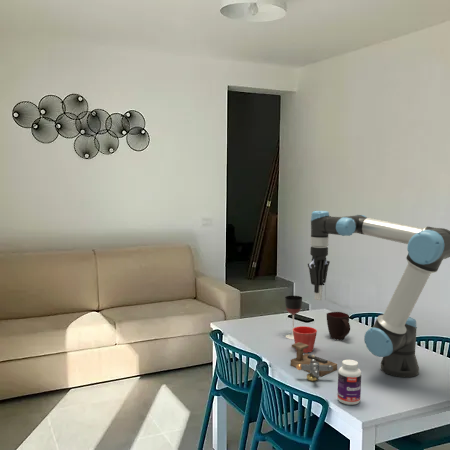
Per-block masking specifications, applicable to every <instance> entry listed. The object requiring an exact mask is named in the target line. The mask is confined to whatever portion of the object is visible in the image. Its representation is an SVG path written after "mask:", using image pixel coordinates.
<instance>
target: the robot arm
mask: <svg viewBox="0 0 450 450" xmlns="http://www.w3.org/2000/svg"><path fill="white" fill-rule="evenodd" d="M353 234H360V235H365V236H369V237H374V238H378V239H382V240H387V241H392V242H395V243H400V244H405V245H407V247H406V249H407V255H406V257H405V259H406V261H407V265H406V268H405V269H404V271H403V273H402V275H401V277H400V279H399V281H398V284H397V285H396V288H395V290H394V292H393V294H392V295H391V298H390V301H389V303H388V304H387V306H386V309H385V311H384V313H383V314H380V315H378V316H377V318H376V320H375V322H374V324H373V326H372V327H370V328H368V329H367V330H366V331H365V333H364V338H363V339H364V340H363V341H364V344H365V347H366V348H367V350H368V351H369V352H370V353H371V354H372V355H373V356H376V357H379V358H382V359H381V360H380V361H381V362H380V370H381V371H382V372H383V373H385V374H387V375H388V376H389V375H390V376H392V377H398V378H414V377H416V376H418V375H419V374H420V365H419V363H418V362H419V361H418V359H417V356H416V343H417V328H418V327H417V321H416V319H415V318H414V317H411V316H410V315H411V314H412V311H413V310H414V308H415V305H416V303H417V301H418V300H419V298H420V296H421V294H422V292H423V289H424V287H425V285H426V284H427V282H428V279H430V276H431V274H434V273H437V272H438V270H439V268H440V266H441V264H442V262H443V261H444V260H447V259H448V258H450V230H449V229H448V228H443V227H433V226H429V225H428V226H425V227H424V228H423V227H419V226H414V225H409V224H403V223H399V222H393V221H387V220H383V219H378V218H373V217H367V216H366V215H362V214H356V215H346V216H330V212H329V211H328V210H315V211H312V212H311V218H310V249H309V250H310V255H311V262H310V263H307V267H308V271H309V277H310V284H311V285H313V288H314V289H313V290H314V291H313V292H314V300H316V301H322V299H323V298H322V297H323V296H322V295H323V286H325V284H326V282H327V275H328V270H329V266H330V262H331V261H330V260H327V256H328V255H329V247H328V246H329V235H335V236H336V235H337V236H343V237H344V236H346V237H347V236H349V237H350V236H352V235H353Z"/></svg>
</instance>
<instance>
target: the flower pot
mask: <svg viewBox="0 0 450 450" xmlns="http://www.w3.org/2000/svg"><path fill="white" fill-rule="evenodd" d="M317 333H318V331H317V329H316V328H314V327H311V326H305V325H304V326H302V325H301V326H294V329H293V335H294V339H293V341H294V344H295V343H298V342H300V343H303V344H307V345H308V348H305V349H303V354H304V353H305V354H309V353H311V352H313V350H314V347H315V343H316V337H317ZM295 350H296V351H297V349H296V348H295ZM308 352H309V353H308Z"/></svg>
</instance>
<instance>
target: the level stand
mask: <svg viewBox="0 0 450 450" xmlns="http://www.w3.org/2000/svg"><path fill="white" fill-rule="evenodd" d="M291 348H293V349H295V350H296V349H297V350H296V357H294V358H292V359H290V366H291V367H293V368H296V366H297V364H310V361H311V359H315V360H316V362H319V365H332V366H333V370H332V371H319V377H323V376H326V375H328V374H330V373H333V372H335V371H337V370H338V363H335V362H334V361H333V362H332V361H330V360H327V359H324V358H323V357H322V358H321V357H318V356H317V355H315V354H309V353H305V354H304V353H303V349H305V348H308V345H307V344H303V343H300V342H298V343H295V342H294V343H293V344H291ZM303 371H305V372H307V373H310V370H303Z"/></svg>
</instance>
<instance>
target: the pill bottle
mask: <svg viewBox="0 0 450 450" xmlns="http://www.w3.org/2000/svg"><path fill="white" fill-rule="evenodd" d="M358 366H359V362H358V361H357V360H353V359H344V360H342V361H341V366H340V367H339V369H337V370H338V372H337V394H336V395H337V399H338V401H339V402H340V403H342V404H344V405H347V406H354V405H358V404H359V403H360V402H361V394H362V393H361V391H362V371H361V369H360V368H358Z"/></svg>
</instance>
